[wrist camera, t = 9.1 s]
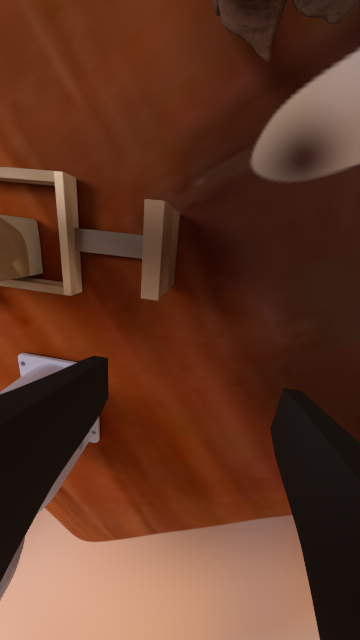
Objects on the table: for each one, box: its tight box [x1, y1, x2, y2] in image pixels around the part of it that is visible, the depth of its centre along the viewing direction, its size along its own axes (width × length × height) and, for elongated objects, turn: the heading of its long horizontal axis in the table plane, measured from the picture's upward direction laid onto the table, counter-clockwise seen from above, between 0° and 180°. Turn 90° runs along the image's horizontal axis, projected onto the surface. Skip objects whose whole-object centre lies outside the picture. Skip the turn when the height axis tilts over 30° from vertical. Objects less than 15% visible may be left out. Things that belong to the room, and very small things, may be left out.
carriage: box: [0, 167, 180, 301], centre depth 15 cm, size 8×18×5 cm, turn 84°
